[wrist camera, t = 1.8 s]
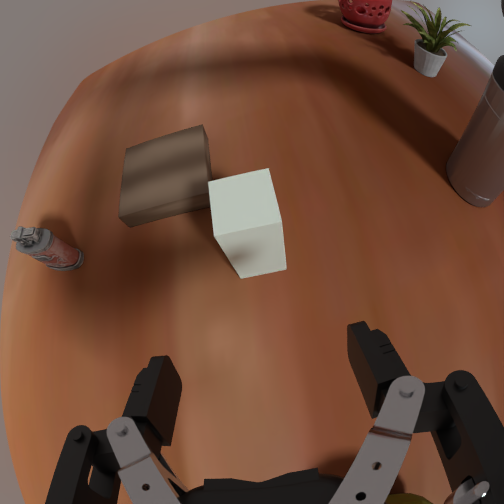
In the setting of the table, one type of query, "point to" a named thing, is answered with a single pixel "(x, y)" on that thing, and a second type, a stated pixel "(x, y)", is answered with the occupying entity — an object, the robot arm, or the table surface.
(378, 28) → the plant pot
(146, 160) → the walnut base
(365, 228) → the table surface
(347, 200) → the table surface
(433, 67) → the house plant
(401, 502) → the apple
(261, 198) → the sage pillar
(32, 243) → the lighter
